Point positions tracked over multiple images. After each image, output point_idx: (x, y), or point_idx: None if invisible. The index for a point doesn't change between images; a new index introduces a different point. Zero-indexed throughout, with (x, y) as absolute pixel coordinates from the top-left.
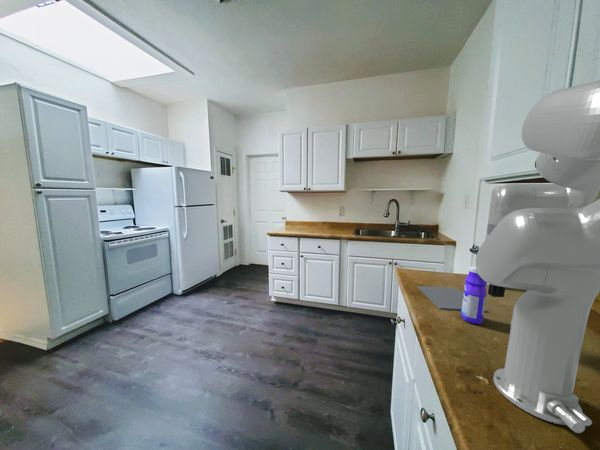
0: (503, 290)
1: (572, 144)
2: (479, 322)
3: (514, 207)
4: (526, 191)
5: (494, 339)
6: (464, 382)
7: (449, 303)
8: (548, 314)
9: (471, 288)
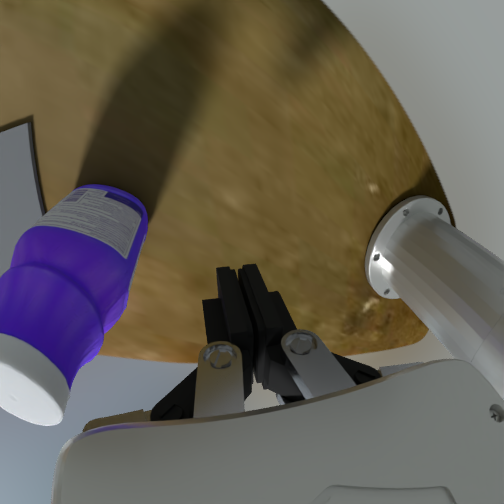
0: (286, 309)
1: None
2: (146, 212)
3: None
4: None
5: (235, 203)
6: (371, 329)
7: None
8: None
9: (104, 332)
